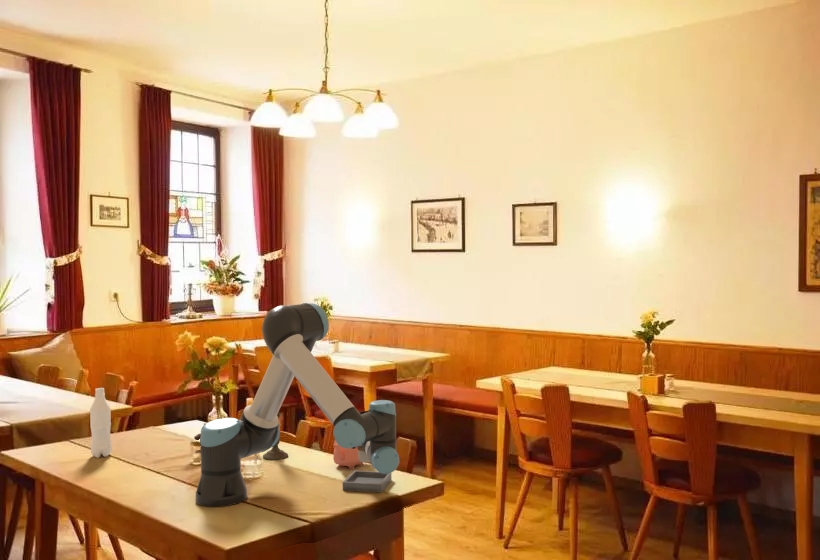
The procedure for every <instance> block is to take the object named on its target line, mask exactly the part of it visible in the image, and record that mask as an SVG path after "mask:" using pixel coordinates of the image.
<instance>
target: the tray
mask: <svg viewBox="0 0 820 560" xmlns="http://www.w3.org/2000/svg"><path fill="white" fill-rule="evenodd" d="M391 481H392V473H389V474H382V473H380V472H378V471H371V470H370V471H369V470H356V469H355V470H354V469H353V471H352V472H351V473H350V474H349V475H347V477H346V478H345V479H344V480H343V481H342V490H343V491H351V492H352V491H353V492H366V493H381V494H382V493H383V492H384V491H385V489H386V488H387V487H388V485H389V484H390V483H391Z"/></svg>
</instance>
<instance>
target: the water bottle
mask: <svg viewBox="0 0 820 560" xmlns="http://www.w3.org/2000/svg"><path fill="white" fill-rule="evenodd" d="M105 395H106V393H105V388H104V387H97V388H95V393H94V396H95V398H94V400H93V402H92V404H91V407H90V409H89V417H90V418H89V419H90V421H89V422H90V432H91V442H90V453H91V454H92V456H93V457H95V458H99V459H100V457H101V455H102V456H103V458H106V457H108V456H109V455H110V454H111V452H112V449H113V446H112V445H113V444H112V440H111V427H112V420H111V419H112V418H111V417H112V415H111V411H112V410H111V409H112V408H111V406H110V404H109V403H108V400H107V399H106V396H105Z"/></svg>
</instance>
